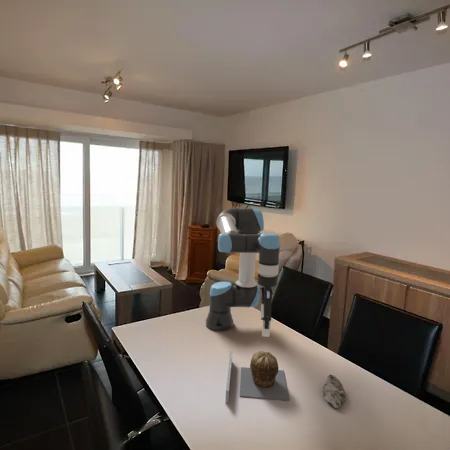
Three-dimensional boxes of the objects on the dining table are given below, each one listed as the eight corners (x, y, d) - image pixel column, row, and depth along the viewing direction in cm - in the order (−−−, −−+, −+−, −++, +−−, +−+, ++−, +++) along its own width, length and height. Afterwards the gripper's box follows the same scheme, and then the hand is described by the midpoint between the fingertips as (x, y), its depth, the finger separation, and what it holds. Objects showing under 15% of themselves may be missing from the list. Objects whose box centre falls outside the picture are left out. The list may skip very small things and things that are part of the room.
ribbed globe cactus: (244, 385, 120) (246, 356, 118) (255, 370, 129) (257, 343, 128) (271, 395, 115) (273, 365, 113) (280, 379, 124) (282, 351, 123)
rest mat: (240, 367, 132) (240, 367, 132) (283, 371, 130) (283, 370, 130) (239, 396, 114) (239, 395, 114) (289, 400, 113) (289, 399, 113)
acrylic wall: (229, 362, 136) (230, 351, 135) (232, 362, 136) (232, 351, 135) (225, 403, 110) (225, 390, 109) (228, 403, 110) (228, 390, 109)
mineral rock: (341, 413, 108) (343, 401, 107) (318, 404, 112) (319, 392, 111) (348, 389, 121) (349, 379, 120) (327, 382, 125) (328, 372, 124)
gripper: (256, 265, 130) (254, 313, 133) (259, 284, 105) (255, 343, 108) (274, 266, 129) (271, 314, 132) (281, 285, 104) (277, 344, 107)
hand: (264, 327), depth 120 cm, fingers open, 13 cm apart
